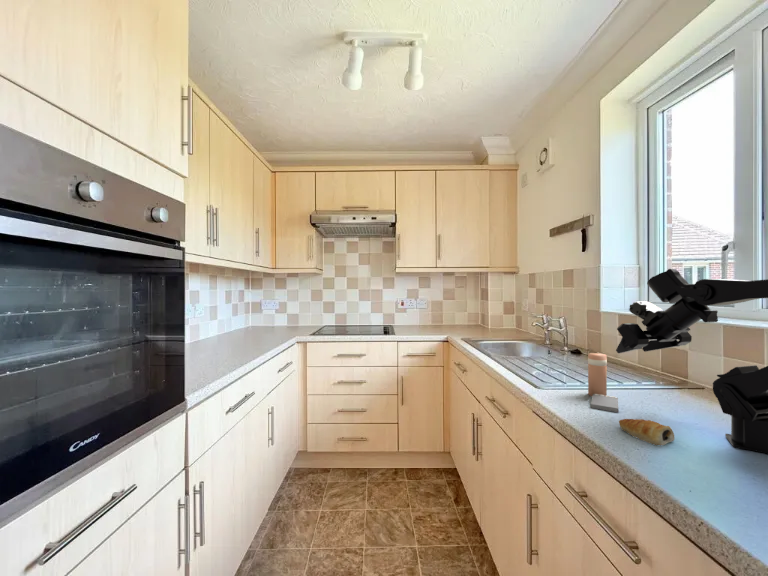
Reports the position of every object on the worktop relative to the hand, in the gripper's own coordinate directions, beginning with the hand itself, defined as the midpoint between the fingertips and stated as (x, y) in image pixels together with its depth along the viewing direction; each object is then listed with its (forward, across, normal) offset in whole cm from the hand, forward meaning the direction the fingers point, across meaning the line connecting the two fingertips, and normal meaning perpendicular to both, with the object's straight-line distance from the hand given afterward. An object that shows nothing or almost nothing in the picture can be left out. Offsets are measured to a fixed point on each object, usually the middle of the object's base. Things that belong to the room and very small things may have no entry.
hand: (630, 350), depth 93 cm
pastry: (-3, +16, +22) cm, 28 cm away
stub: (+15, +3, +6) cm, 17 cm away
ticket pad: (+10, +8, +10) cm, 16 cm away
